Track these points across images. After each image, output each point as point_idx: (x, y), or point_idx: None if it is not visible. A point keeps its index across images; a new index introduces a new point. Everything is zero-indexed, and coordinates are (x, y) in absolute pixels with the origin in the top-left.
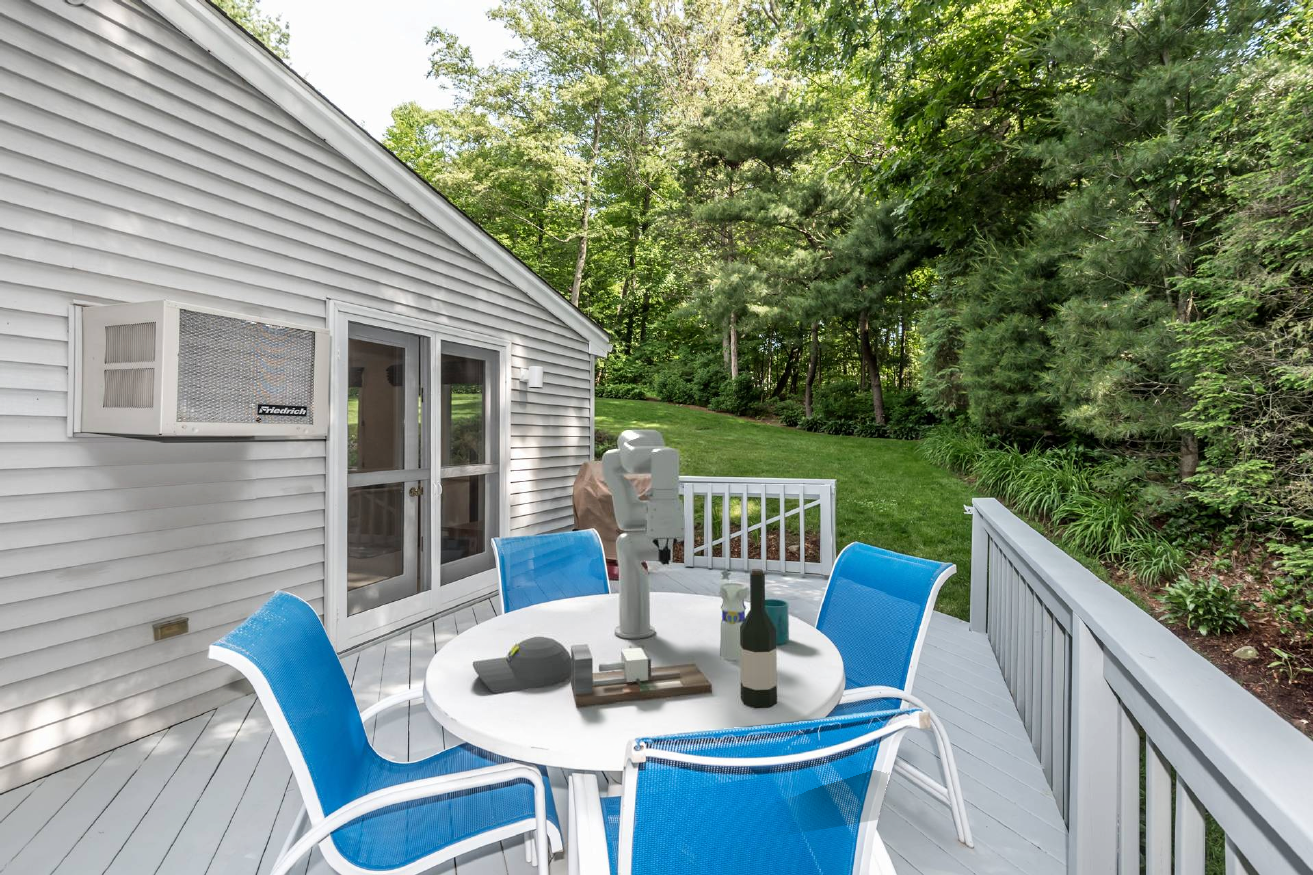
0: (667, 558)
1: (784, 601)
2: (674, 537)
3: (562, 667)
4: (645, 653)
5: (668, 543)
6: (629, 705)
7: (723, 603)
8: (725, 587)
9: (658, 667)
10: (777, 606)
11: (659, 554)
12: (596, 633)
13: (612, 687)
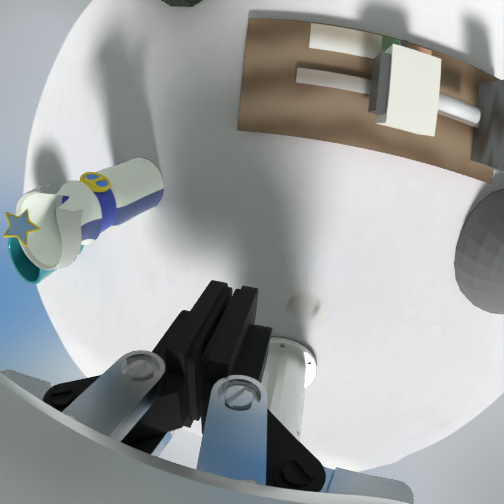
0: (210, 302)
1: (11, 257)
2: (19, 392)
3: (500, 208)
4: (382, 92)
5: (139, 404)
6: (419, 37)
7: (88, 219)
8: (57, 261)
9: (324, 137)
10: (26, 266)
11: (263, 367)
12: (341, 384)
13: (444, 84)
